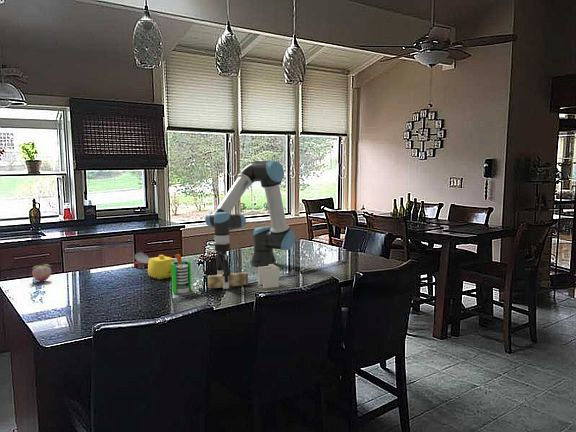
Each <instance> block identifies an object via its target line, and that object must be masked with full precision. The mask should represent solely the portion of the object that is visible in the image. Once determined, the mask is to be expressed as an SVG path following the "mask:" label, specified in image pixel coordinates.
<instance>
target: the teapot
mask: <svg viewBox="0 0 576 432" xmlns="http://www.w3.org/2000/svg"><path fill="white" fill-rule="evenodd" d="M149 258H150V259H149V262H148V268H147V275H148V277H150V276H151V278H152V277H153V279H156V278H157V279H156V280H165V279H169V277H170V278H172V265H171V263H173V262H176V261H175V258H173V257H171V256H166V255H164V254H159V255H158V256H157V257H156V256H155V257H149ZM164 278H165V279H164Z"/></svg>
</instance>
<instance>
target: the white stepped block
mask: <svg viewBox="0 0 576 432" xmlns="http://www.w3.org/2000/svg"><path fill="white" fill-rule="evenodd" d="M257 279H258V280H257V284H258V285H259V286H262V288H263V289H269V288H270V289H271V288H278V287H280V267H279V266H277V265H274V264H269V266H263V267H257Z"/></svg>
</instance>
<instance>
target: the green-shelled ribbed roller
mask: <svg viewBox="0 0 576 432" xmlns="http://www.w3.org/2000/svg"><path fill="white" fill-rule="evenodd" d="M174 259H176V260H177V261H175V262H173V263H171V265H172V277H171V293H172V294H186V293H189V292H190V291H192V270H191V269H192V265H191V264H192V263H191V261H186V260H182V255H181V254H179V253H178V254H174Z"/></svg>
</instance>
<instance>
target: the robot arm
mask: <svg viewBox="0 0 576 432" xmlns="http://www.w3.org/2000/svg"><path fill="white" fill-rule="evenodd" d="M284 177H285V171H284V167H283V164H282V163H280V162H279V161H276V160H254V161H251V162H249V163H248V164H247V165H245V166H244V167H242V169H241V170H240V171H239V172H238V174H236V180H235V181H234V183H232V186H230V188H229V190H228V191H227V193H226V194H225V196H224V197H223V198H222V200H221V201H220V203H219V204H218V206H216V208H215V210H214V211H213V212H208V213H207V214H206V215H205V217H204V221H205V224H206V225H207V226H208V227H211V228H214V236H213V240H214V251H215V252H216V260H215V261H216V264H215V268H216V272H217V274H216V275H220V274H224V275H222V276H223V287H222V288H223V290H225V289H230V286H229V275H230V273H231V271H230V262H229V260H230V259H229V255H228V254H227V252H230V250H231V244H230V243H231V242H230V241H231V235H230V232H231V230H237V229H238V230H239V229H243V228H244V227H245V226H246V224H247V220H246V219H247V218H246V217H245V215H244V214H241V213H236V214H231V212H232V211H233V210H234V208H235V206H236V205H237V204H238V202H239V200H240V199H241V198H242V196H243V195H244V194H245V192H246V190H248V187H251V186H252V184H254V183H255V182H260V185H261V187H262V188H263V189H264V192H265V197H266V201H267V202H266V203H267V204H266V205H267V208H268V214H269V219H270V224H271V225H269V226H260V227H256V228H254V230H253V254H252V257H251V260H250V261H251V262H250V265H251V266H253V267H257V268H258V267H263V266H269V264H274V265H276V264H277V260H276V257H275V253H274V250H279V251H280V250H281V251H289V250H291V249H292V248H293V246H294V244H295V241H296V233H295V232H294V231H293V230H291V228H290V227H291V226H290V225H289V224H287V221H286V216H285V211H284V204H283V199H282V193H281V188H280V186H281V184H282V180H283V179H284ZM276 266H277V265H276Z"/></svg>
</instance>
